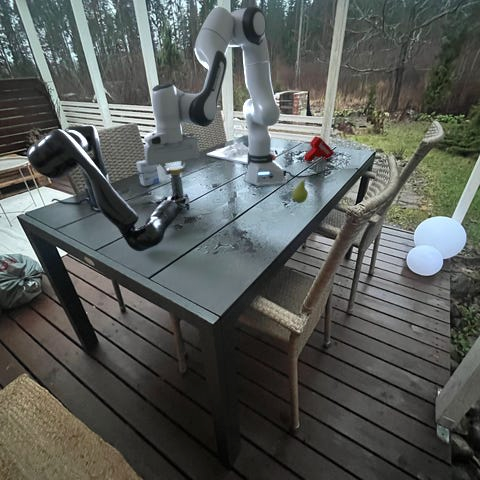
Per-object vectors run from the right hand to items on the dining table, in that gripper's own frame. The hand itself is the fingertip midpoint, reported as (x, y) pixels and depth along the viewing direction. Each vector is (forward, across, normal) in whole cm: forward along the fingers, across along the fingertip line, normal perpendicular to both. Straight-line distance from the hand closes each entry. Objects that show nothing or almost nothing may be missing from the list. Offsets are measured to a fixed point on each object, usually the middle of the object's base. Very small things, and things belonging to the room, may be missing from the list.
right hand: (175, 172), depth 105 cm
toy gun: (+18, -100, -26) cm, 105 cm away
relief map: (+17, -62, -63) cm, 90 cm away
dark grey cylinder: (+17, 0, 0) cm, 17 cm away
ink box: (+17, +4, -39) cm, 43 cm away
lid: (-2, 0, 0) cm, 2 cm away
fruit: (+17, -49, +17) cm, 55 cm away
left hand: (+11, -1, -2) cm, 11 cm away
